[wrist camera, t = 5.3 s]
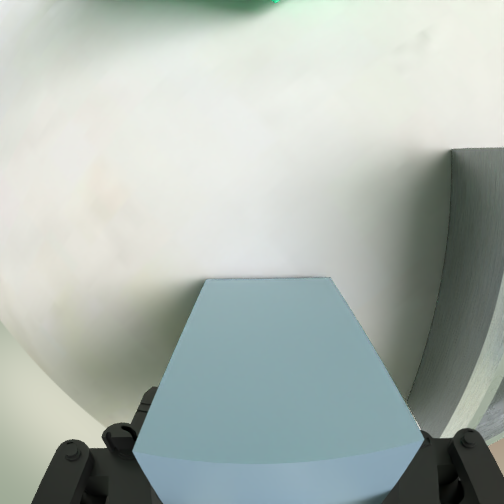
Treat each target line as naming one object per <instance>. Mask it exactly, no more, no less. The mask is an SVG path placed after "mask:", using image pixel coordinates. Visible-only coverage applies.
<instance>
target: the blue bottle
mask: <svg viewBox="0 0 504 504" xmlns="http://www.w3.org/2000/svg"><path fill="white" fill-rule="evenodd" d="M423 441H424V437H423V435H422V433H421V431H420V430H419V428H418V426H417V424H416V422H415V420H414V418H413V416H412V414H411V413H410V411H409V409H408V407H407V405H406V403H405V401H404V400H403V398H402V396H401V394H400V392H399V391H398V389H397V387H396V385H395V383H394V382H393V380H392V378H391V376H390V375H389V373H388V371H387V369H386V368H385V366H384V364H383V362H382V361H381V359H380V357H379V356H378V354H377V352H376V350H375V349H374V347H373V345H372V344H371V342H370V340H369V339H368V337H367V335H366V334H365V332H364V330H363V329H362V327H361V325H360V324H359V322H358V321H357V319H356V317H355V316H354V314H353V312H352V311H351V309H350V308H349V306H348V304H347V303H346V301H345V300H344V298H343V296H342V295H341V293H340V292H339V290H338V289H337V287H336V285H335V284H334V282H333V281H332V279H331V278H330V277H325V278H280V279H206V281H205V283H204V285H203V287H202V290H201V292H200V294H199V296H198V298H197V301H196V303H195V305H194V307H193V309H192V312H191V314H190V316H189V318H188V321H187V323H186V325H185V327H184V329H183V332H182V334H181V336H180V339H179V341H178V343H177V345H176V348H175V350H174V352H173V354H172V357H171V359H170V361H169V364H168V366H167V368H166V371H165V373H164V375H163V378H162V380H161V382H160V385H159V387H158V389H157V392H156V394H155V397H154V399H153V401H152V404H151V406H150V409H149V411H148V413H147V416H146V418H145V421H144V423H143V426H142V428H141V430H140V433H139V435H138V438H137V440H136V443H135V445H134V448H133V450H132V452H133V454H134V456H135V457H136V459H137V461H138V463H139V465H140V467H141V468H142V470H143V472H144V474H145V475H146V477H147V479H148V480H149V482H150V484H151V485H152V487H153V489H154V490H155V492H156V494H157V495H158V497H159V498H160V500H161V501H162V503H163V504H381V503H382V502H383V500H384V499H385V498H386V497H387V495H388V494H389V493H390V491H391V490H392V489H393V487H394V486H395V484H396V483H397V482H398V480H399V479H400V477H401V476H402V474H403V473H404V471H405V470H406V469H407V467H408V465H409V464H410V462H411V461H412V459H413V458H414V456H415V454H416V453H417V451H418V450H419V448H420V446H421V445H422V443H423Z"/></svg>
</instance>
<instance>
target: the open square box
mask: <svg viewBox="0 0 504 504" xmlns="http://www.w3.org/2000/svg"><path fill="white" fill-rule="evenodd" d="M407 404H408V406H409V407H410V409H411V411H412V413H413V415H414V417H415V419H416V420H417V422H418V424H419V426H420V428H421V430H423V431H425V432H427V433H429V434H430V435H431V436H432V438H453V437H454V435H455V434H456V433H457V431H459V430H461V429H463V428H471V429H474V430H476V431H478V432H479V433H480V434H481V435H482V437H483V439H484V441H485V442H486V444H487V446H489V445H490V444H493V443H494V442H496V441H498V440H500V439H502V438H504V148H465V149H452V185H451V206H450V220H449V230H448V239H447V248H446V255H445V262H444V268H443V274H442V280H441V285H440V290H439V295H438V300H437V305H436V309H435V314H434V318H433V322H432V326H431V330H430V333H429V337H428V341H427V344H426V348H425V351H424V354H423V358H422V361H421V364H420V367H419V370H418V373H417V376H416V379H415V382H414V385H413V387H412V390H411V393H410V395H409V398H408V401H407Z"/></svg>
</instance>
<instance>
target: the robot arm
mask: <svg viewBox="0 0 504 504" xmlns="http://www.w3.org/2000/svg"><path fill="white" fill-rule="evenodd" d="M157 389H158V387H152V388H151V389H149V390H148V391H147V392H146V393H145V394H144V396H143V398H142V400H141V403H140V405H139V407H138V409H137V412H136V413H135V416H134V418H133V420H132V422H131V424H129V423H117V424H113V425H111V426H109V427H108V428H107V429H106V430H105V431H104V432H103V434H102V439H103V441H104V443H105V444H106V446H107V448H88V446H87V445H86V444H85V443H84V442H82V441H80V440H74V439H72V440H67V441H65V442H63V443H62V444H61V445H60V446H59V447H58V449H57V450H56V453H55V455H54V456H53V458H52V461H51V462H50V465H49V466H48V469H47V471H46V473H45V475H44V477H43V479H42V481H41V483H40V485H39V488H38V490H37V492H36V494H35V497H34V499H33V501H32V503H31V504H163V503H162V501H161V500H160V498H159V497H158V495H157V494H156V492H155V490H154V489H153V487H152V485H151V484H150V482H149V480H148V479H147V477H146V475H145V474H144V472H143V470H142V468H141V467H140V465H139V463H138V461H137V459H136V457H135V456H134V454H133V452H132V450H133V448H134V445H135V443H136V440H137V438H138V435H139V433H140V430H141V428H142V426H143V423H144V421H145V418H146V416H147V413H148V411H149V409H150V406H151V404H152V401H153V399H154V397H155V394H156V392H157ZM420 431H421V433H422V435H423V437H424V441H423V443H422V445H421V446H420V448H419V450H418V451H417V453H416V454H415V456H414V458H413V459H412V461H411V462H410V464H409V465H408V467H407V469H406V470H405V471H404V473H403V474H402V476H401V477H400V479H399V480H398V482H397V483H396V484H395V486H394V487H393V489H392V490H391V491H390V493H389V494H388V495H387V497H386V498H385V499H384V500H383V502H382V503H381V504H504V477H503V475H502V473H501V471H500V469H499V467H498V465H497V463H496V461H495V459H494V457H493V455H492V454H491V452H490V450H489V448H488V446H487V444H486V442H485V441H484V439H483V437H482V435H481V434H480V433H479V432H478V431H476V430H474V429H471V428H463V429H461V430H459V431H457V433H456V434H455V435H454V437H453V438H432V436H431V435H430V434H429V433H427V432H425V431H423V430H420Z"/></svg>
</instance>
